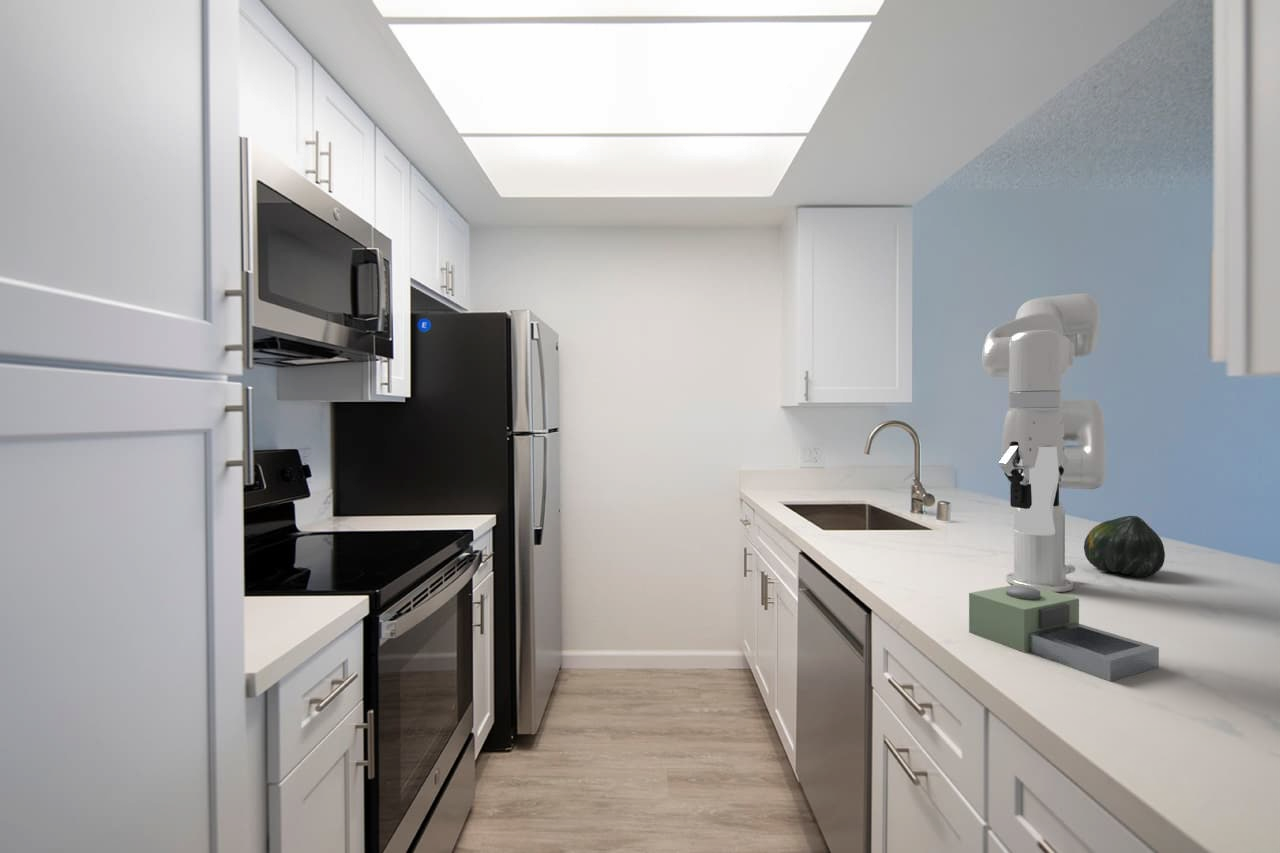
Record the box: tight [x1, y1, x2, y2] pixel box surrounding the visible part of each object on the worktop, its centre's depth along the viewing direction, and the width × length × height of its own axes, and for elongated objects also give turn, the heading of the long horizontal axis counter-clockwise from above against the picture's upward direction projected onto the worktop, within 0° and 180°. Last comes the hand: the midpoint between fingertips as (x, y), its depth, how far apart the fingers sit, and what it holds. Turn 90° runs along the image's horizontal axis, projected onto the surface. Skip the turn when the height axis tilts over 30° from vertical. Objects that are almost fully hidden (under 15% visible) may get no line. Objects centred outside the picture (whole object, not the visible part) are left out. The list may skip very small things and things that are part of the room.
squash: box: [1083, 515, 1166, 578], centre depth 143 cm, size 14×15×15 cm
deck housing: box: [968, 584, 1080, 653], centre depth 104 cm, size 14×11×8 cm
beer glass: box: [1013, 446, 1059, 536], centre depth 103 cm, size 7×7×15 cm
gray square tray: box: [1028, 622, 1160, 682], centre depth 94 cm, size 12×12×3 cm
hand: (1034, 505), depth 103 cm, fingers closed on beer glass, 6 cm apart
